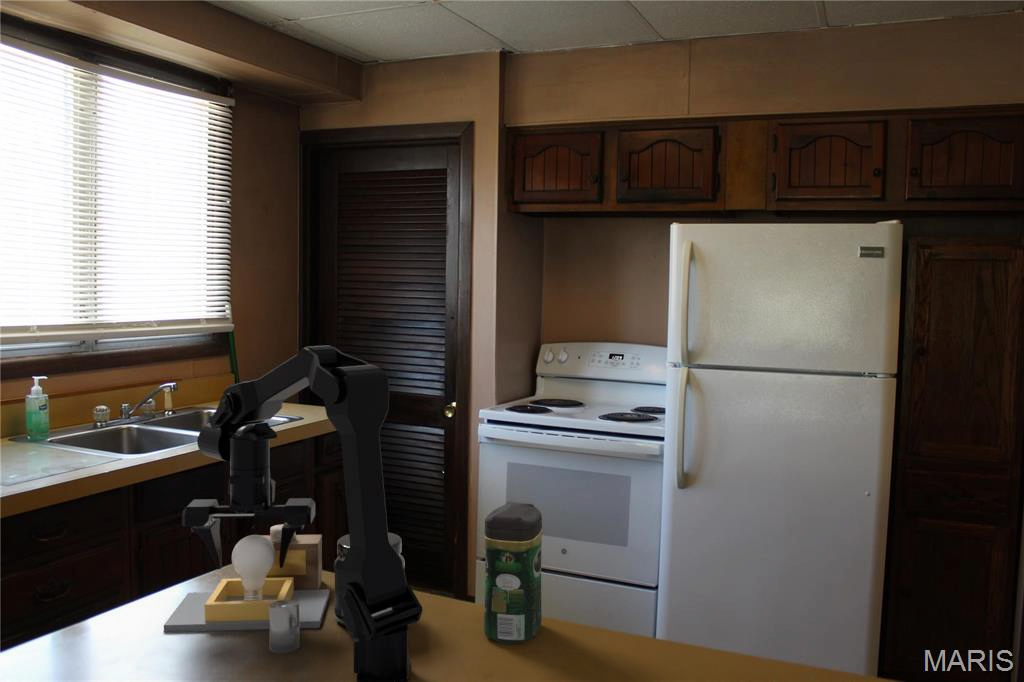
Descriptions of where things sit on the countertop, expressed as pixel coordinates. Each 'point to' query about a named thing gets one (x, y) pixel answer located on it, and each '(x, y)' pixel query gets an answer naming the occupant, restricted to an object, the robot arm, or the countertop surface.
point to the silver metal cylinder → (283, 626)
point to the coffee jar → (513, 573)
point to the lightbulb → (253, 564)
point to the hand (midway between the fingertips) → (250, 567)
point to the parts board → (244, 607)
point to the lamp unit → (298, 559)
